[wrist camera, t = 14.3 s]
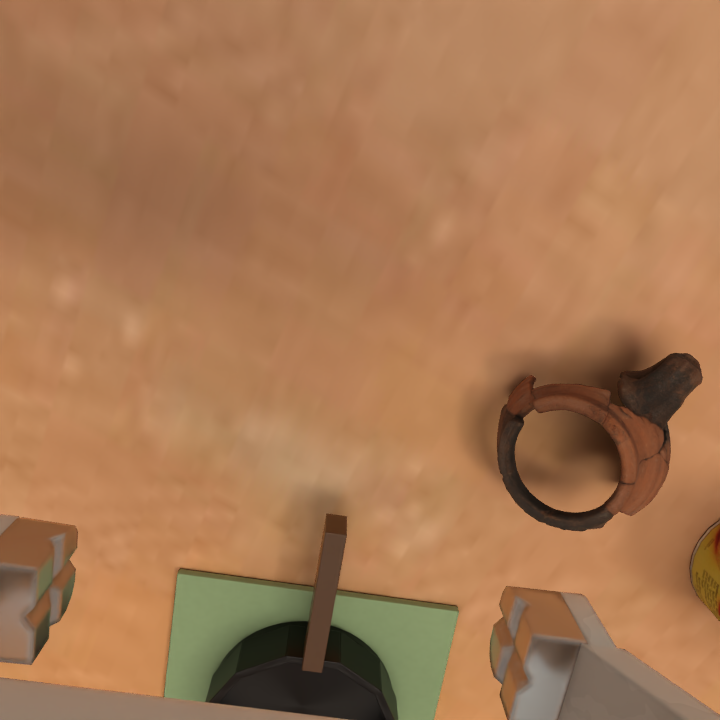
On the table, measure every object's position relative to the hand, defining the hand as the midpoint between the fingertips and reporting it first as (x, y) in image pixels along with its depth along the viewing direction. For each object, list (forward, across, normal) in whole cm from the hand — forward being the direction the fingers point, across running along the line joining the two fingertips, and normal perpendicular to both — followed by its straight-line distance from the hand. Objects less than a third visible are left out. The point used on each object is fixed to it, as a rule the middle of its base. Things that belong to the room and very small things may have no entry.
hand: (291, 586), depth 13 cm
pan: (+26, -3, +21) cm, 33 cm away
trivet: (+26, -3, +26) cm, 37 cm away
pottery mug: (+26, -16, +4) cm, 31 cm away
